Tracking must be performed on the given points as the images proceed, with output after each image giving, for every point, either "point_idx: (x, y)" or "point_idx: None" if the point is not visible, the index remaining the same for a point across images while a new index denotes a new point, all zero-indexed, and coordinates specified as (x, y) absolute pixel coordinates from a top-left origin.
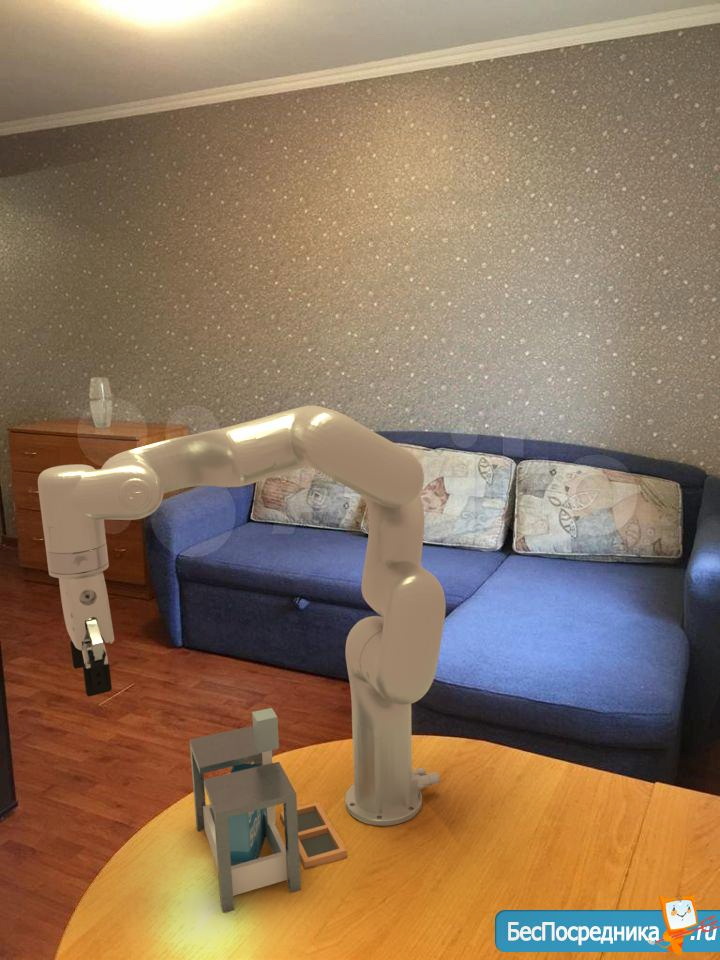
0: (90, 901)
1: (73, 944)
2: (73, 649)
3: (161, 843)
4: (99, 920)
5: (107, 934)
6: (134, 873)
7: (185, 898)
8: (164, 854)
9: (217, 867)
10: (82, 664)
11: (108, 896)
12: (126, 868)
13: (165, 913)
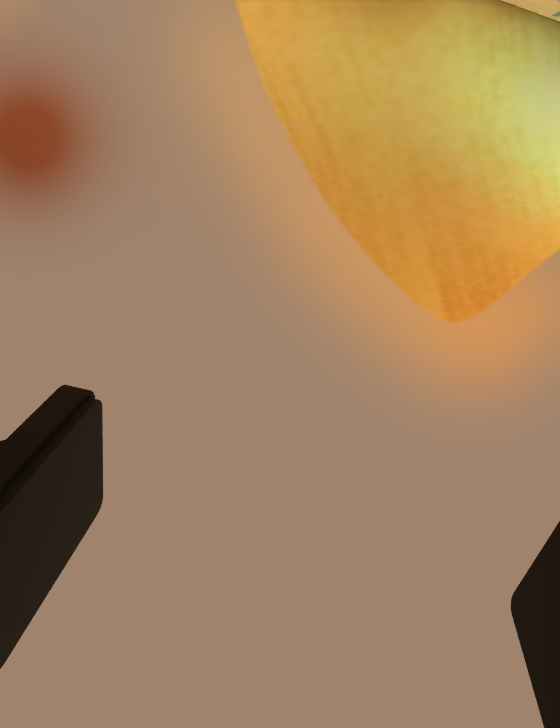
0: (377, 263)
1: (450, 321)
2: (23, 623)
3: (320, 72)
4: (433, 270)
5: (475, 273)
6: (368, 167)
7: (518, 115)
8: (359, 85)
9: (517, 4)
10: (94, 481)
11: (390, 234)
12: (342, 173)
13: (519, 170)
